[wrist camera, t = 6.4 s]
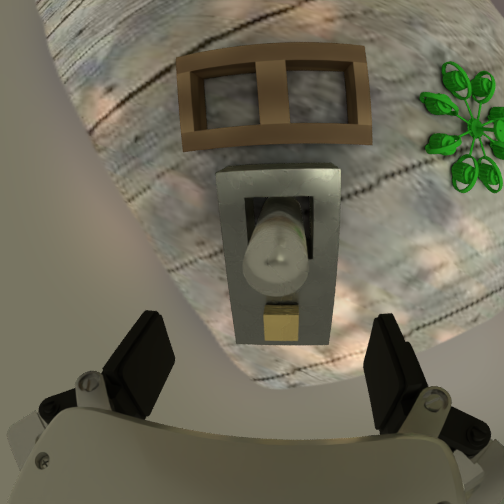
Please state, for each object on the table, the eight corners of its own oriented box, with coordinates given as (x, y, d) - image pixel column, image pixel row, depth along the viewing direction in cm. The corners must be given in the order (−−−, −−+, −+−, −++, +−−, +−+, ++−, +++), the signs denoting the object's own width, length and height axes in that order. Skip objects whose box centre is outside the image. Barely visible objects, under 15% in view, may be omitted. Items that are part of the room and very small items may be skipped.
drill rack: (191, 66, 22) (175, 57, 18) (354, 57, 19) (364, 45, 16) (197, 149, 25) (182, 152, 22) (360, 143, 23) (372, 145, 19)
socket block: (228, 165, 26) (215, 172, 21) (331, 162, 24) (340, 168, 20) (243, 316, 33) (236, 343, 29) (324, 316, 32) (328, 344, 27)
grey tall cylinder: (260, 193, 27) (239, 237, 16) (301, 192, 26) (309, 236, 15) (263, 231, 28) (245, 296, 17) (301, 230, 28) (307, 296, 17)
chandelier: (396, 161, 23) (426, 170, 17) (423, 41, 17) (453, 23, 11) (488, 210, 23) (521, 230, 17) (512, 106, 17) (547, 108, 10)
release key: (268, 278, 30) (263, 314, 24) (298, 278, 30) (298, 315, 24) (270, 302, 31) (264, 340, 25) (297, 302, 31) (297, 340, 25)
